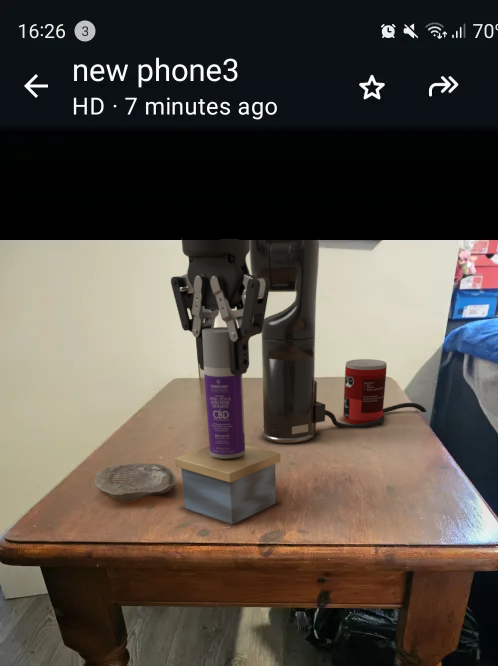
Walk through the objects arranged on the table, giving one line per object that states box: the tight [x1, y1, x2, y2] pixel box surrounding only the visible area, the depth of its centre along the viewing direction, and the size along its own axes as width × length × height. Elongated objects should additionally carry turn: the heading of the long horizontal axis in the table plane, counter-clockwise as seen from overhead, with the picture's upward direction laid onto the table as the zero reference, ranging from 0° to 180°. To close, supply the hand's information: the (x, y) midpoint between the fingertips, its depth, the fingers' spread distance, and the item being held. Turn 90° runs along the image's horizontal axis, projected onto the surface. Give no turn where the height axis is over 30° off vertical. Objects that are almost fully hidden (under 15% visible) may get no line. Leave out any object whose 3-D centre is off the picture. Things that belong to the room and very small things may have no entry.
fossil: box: [94, 462, 177, 504], centre depth 85 cm, size 10×12×3 cm
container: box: [202, 326, 246, 459], centre depth 73 cm, size 5×5×15 cm
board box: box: [174, 444, 281, 525], centre depth 79 cm, size 10×10×7 cm
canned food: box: [342, 358, 388, 425], centre depth 115 cm, size 8×8×11 cm
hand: (223, 370), depth 72 cm, fingers closed on container, 4 cm apart
